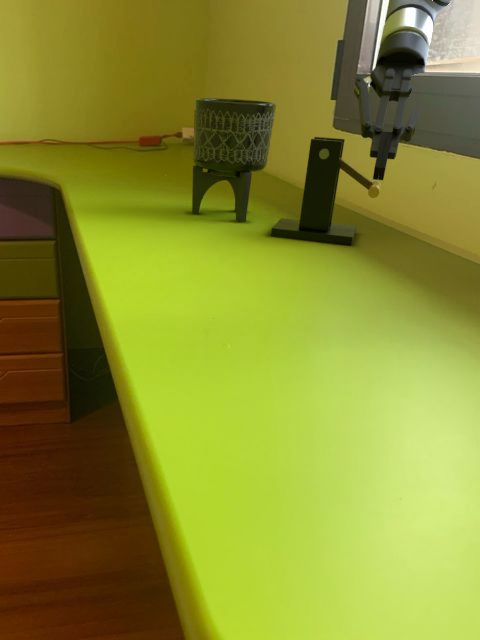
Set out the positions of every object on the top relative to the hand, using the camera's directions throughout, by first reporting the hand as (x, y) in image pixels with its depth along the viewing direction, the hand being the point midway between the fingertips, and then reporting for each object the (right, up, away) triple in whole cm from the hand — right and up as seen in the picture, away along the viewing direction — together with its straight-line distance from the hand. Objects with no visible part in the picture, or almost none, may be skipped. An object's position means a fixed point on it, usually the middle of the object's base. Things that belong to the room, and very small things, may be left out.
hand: (378, 173), depth 102 cm
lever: (-5, 0, 0) cm, 5 cm away
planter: (-21, -2, +16) cm, 27 cm away
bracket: (-9, -8, +5) cm, 13 cm away
